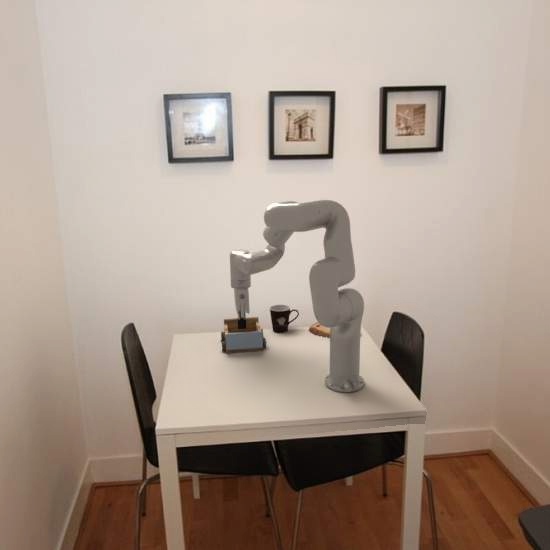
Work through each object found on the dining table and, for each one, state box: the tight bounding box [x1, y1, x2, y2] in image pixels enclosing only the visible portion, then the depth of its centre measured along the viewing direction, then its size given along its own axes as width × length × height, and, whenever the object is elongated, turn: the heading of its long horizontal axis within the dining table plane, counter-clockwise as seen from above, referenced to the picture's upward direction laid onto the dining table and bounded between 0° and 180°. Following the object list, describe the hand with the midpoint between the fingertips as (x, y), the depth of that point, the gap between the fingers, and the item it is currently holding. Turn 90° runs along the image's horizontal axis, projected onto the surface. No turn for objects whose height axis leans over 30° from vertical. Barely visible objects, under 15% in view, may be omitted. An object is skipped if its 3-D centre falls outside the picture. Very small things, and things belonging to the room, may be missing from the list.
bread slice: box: [308, 321, 330, 339], centre depth 195 cm, size 18×18×4 cm
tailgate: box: [226, 331, 264, 350], centre depth 176 cm, size 1×14×6 cm, turn 98°
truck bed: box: [220, 316, 267, 354], centre depth 185 cm, size 16×17×8 cm
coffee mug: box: [269, 304, 300, 334], centre depth 198 cm, size 12×9×10 cm
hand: (242, 328), depth 181 cm, fingers closed
